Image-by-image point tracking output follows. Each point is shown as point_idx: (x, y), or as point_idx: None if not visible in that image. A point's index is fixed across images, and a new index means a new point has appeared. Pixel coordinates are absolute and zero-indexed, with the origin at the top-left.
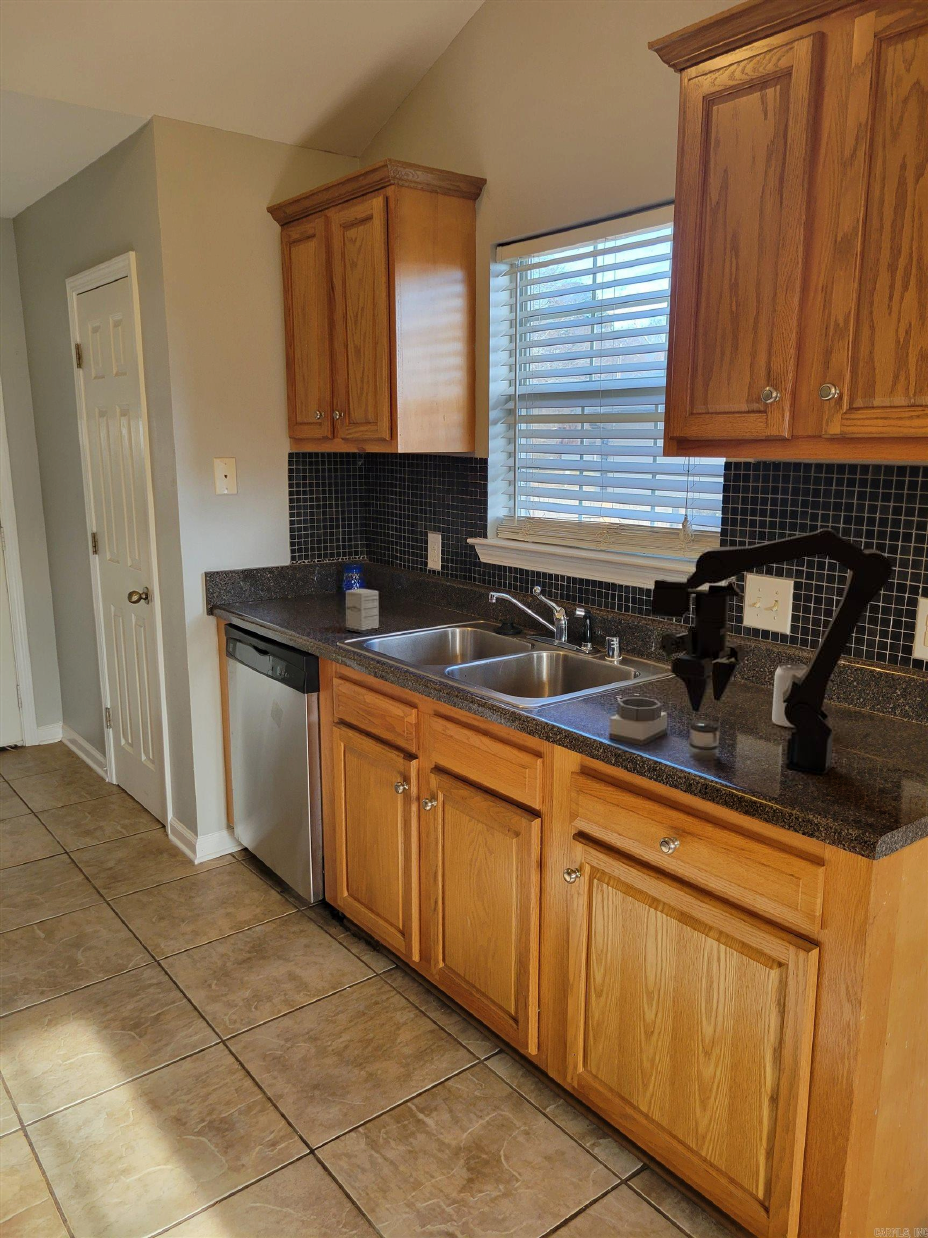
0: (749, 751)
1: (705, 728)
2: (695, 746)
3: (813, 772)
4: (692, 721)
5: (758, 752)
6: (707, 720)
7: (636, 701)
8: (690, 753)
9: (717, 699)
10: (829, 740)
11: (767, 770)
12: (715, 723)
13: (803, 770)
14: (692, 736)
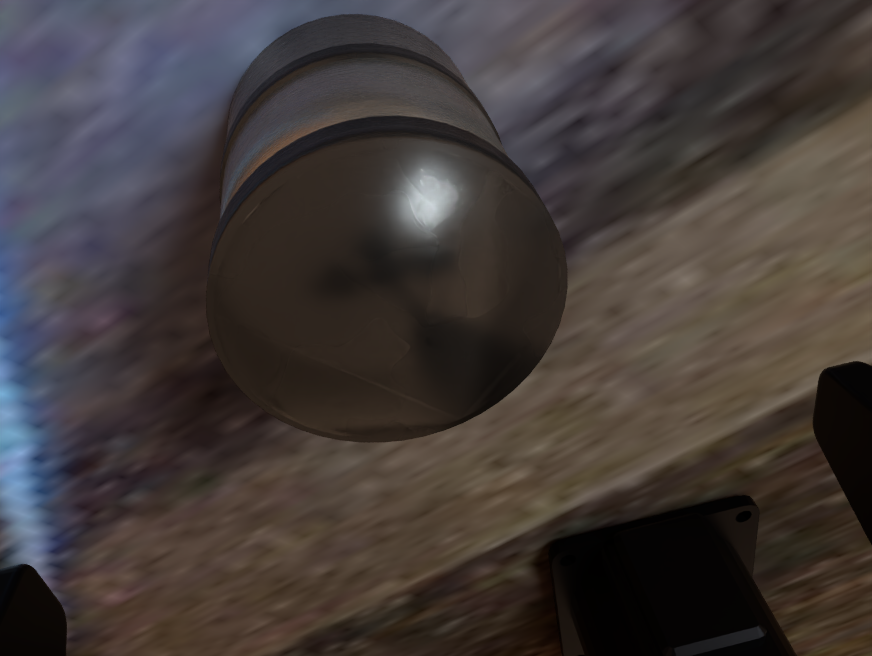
0: (715, 277)
1: (256, 402)
2: (220, 201)
3: (560, 637)
4: (358, 156)
5: (730, 320)
6: (551, 236)
7: None
8: (237, 95)
9: (822, 419)
10: None
11: (438, 521)
12: (503, 356)
13: (556, 608)
14: (227, 193)
